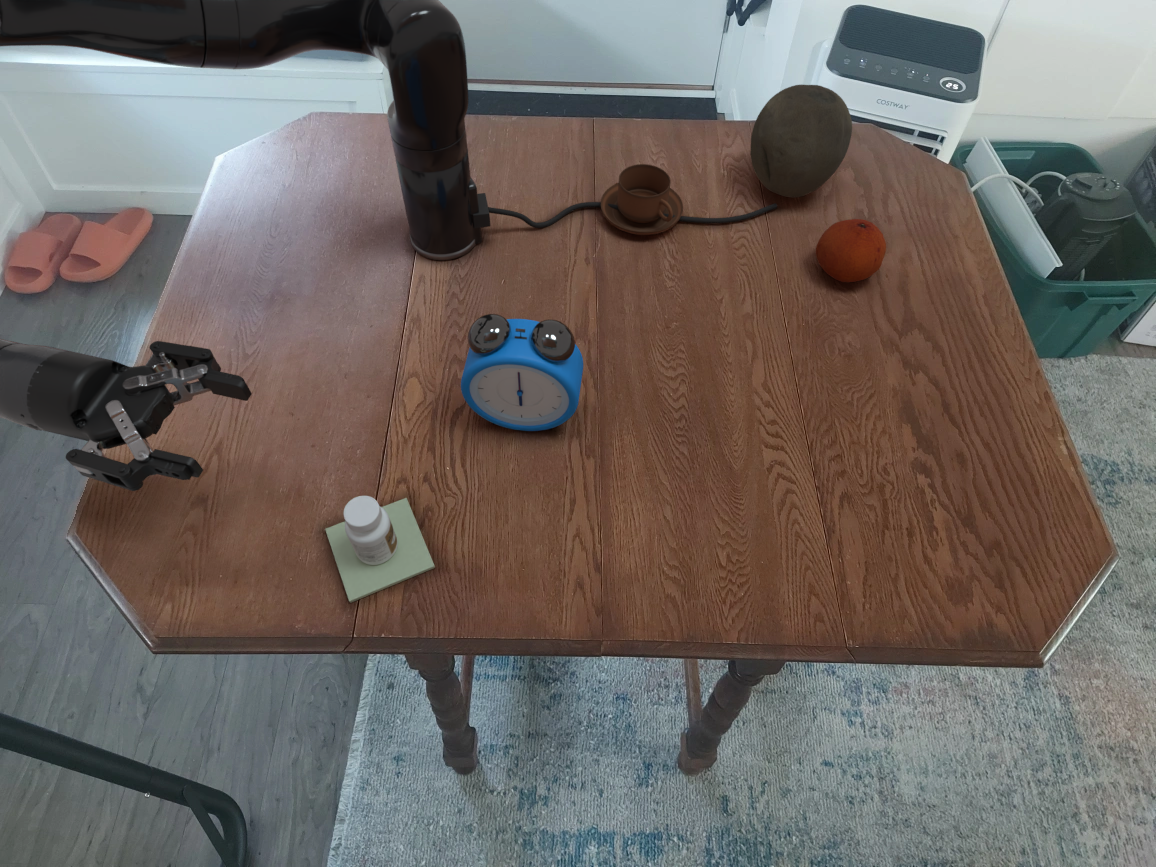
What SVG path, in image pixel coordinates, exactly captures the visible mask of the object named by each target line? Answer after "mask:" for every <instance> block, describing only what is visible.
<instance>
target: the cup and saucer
mask: <svg viewBox="0 0 1156 867" xmlns="http://www.w3.org/2000/svg"><path fill="white" fill-rule="evenodd" d="M618 175H619V176H618V182H617V183H614V184H613V185H611V186H609V187H608V188H607V189H606V190H605V191H604V193H603V194H602V196H601V199H600V202H601V208H600V209H601V213H602V215H603V216H604V218H605V219H606V221H607V222H608V223H609V224H611V225H612V226H614V227H615V228H617V229H619V230H620V231H623V232H625V233H628V234H633V235H637V236H649V235H656V234H660V233H663V232H665V231H668V230H670V229H671V228H673V227H674V226H675V225H676V224H678V222H680V221H679V219H680V217H681V216H683V212H684V204H683V200H682V199H681V197H680V195H679V194H678V193H677V192H676V191H675V190H674V189H673V188H671V182H672V181H671V177H670V175H669V174H668V173H667V171H665V169H663V168H661V167H659V166H657V165H652V164H646V163H638V164H633V165H629V166H628V167H626V168H624V169H623V170H622V171H621V172H620V173H619V174H618ZM608 204H615V205H617V206H618V209H619V210H620V211H619V210H616V209H614V208H611V207H610V206H608ZM664 213H665V214H669V216H668V217H666V216H664V215H663V214H664ZM673 215H675V217H673ZM659 217H661V218H659ZM672 217H673V218H672Z"/></svg>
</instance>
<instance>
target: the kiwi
mask: <svg viewBox="0 0 1156 867" xmlns="http://www.w3.org/2000/svg"><path fill="white" fill-rule="evenodd" d="M852 134H853V120H852V115H851V113H850V110H849V107H848V106H847V104H846V102H845V100H844V99H843V98H842V96H840V95H839V94H838V93H836V92H835V91H834V90H832V89H831V88H829V87H825V86H822V85H818V84H795V85H791V86H789V87H785V88H783V89H781V90H780V91H778V92H777V93H775V94H774V95H772V96H771V98H770V99H769V100H768V101H767V102H766V103H765V105H763V107H762V109H761V110H760V112H759V114H758V115H757V116H756V120H755V121H754V124H753V128H752V132H751V136H750V152H749V153H750V161H751V165H752V169H753V171H754V174H755V175H756V177H757V179H758V180H759V181H760V183H761V184H762V185H763V187H765V188H766V190H769V191H770V192H772V193H774V194H777V195H779V196H782V197H787V198H792V199H793V198H801V197H804V196H807V195H808V194H811V193H812V192H814V191H816V190H817V189H819V188H821V187H822V186H823V185H824V184H826V182H827V181H829V179H831V177H832V176H833V175H834V174H835V173H836V172H837V170H838V169H839V168H840V166H841V165H842V162H843V161H844V159H845V157H846V155H847V152H848V150H849V147H850V143H851V140H852V136H853V135H852Z"/></svg>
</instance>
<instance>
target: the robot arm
mask: <svg viewBox="0 0 1156 867" xmlns="http://www.w3.org/2000/svg"><path fill="white" fill-rule="evenodd" d="M29 46H30V47H34V46H35V47H36V46H37V47H39V46H40V47H41V46H42V47H43V46H45V47H46V46H51V47H68V48H69V47H70V48H78V49H85V50H91V51H94V52H95V51H96V52H100V53H106V54H110V55H113V56H114V55H115V56H118V57H123V58H128V59H133V60H139V61H143V62H148V63H155V64H162V65H170V66H176V67H182V68H183V67H185V68H192V69H193V68H194V69H215V70H217V69H218V70H255V69H259V68H263V67H267V66H271V65H273V64H277V63H279V62H282V61H285V60H287V59H290V58H293V57H295V56H298V55H301V54H303V53H309V52H312V51H337V52H348V53H355V54H360V55H366V56H370V57H373V58H376V59H378V61H380V63H381V64H382V65H383V66H384V67H385V68H386V69H387V72H388V76H389V81H390V87H391V93H392V99H393V100H392V101H391V103H390V104H389V105H388V109H387V111H386V112H387V113H386V114H387V116H386V117H387V125H388V129H389V130H388V131H389V134H390V138H391V144H392V149H393V154H394V159H395V164H396V169H397V174H398V179H399V185H400V190H401V194H402V200H403V205H404V210H405V215H406V220H407V225H408V231H409V238H410V244H411V246H412V248H413V250H414V251H415V252H416V253H417V254H419V255H420V256H422V257H424V258H427V259H430V260H434V261H449V260H455V259H458V258H460V257H463V256H464V255H466V254H468V253H469V252H470V251H472V249H473V248H474V247H475V246H476V245H478V244H482V242H483V236H482V228H489V227H491V218H490V214H495V215H502V216H508V217H513V218H516V219H520V220H521V221H523V222H524V223H525V224H527V225H528V226H530V227H532V228H534V229H543V228H546V227H549V226H551V225H553V224H555V223H556V222H558V221H560V220H561V219H562V218H564V217H565V216H567V215H568V214H570V213H572V212H575V211H577V210H580V209H587V208H596V209H597V208H598V209H599V208H600V209H601V201H587V202H578V203H575V204H572V205H570V206H568V207H566V208H565V209H563V210H562V211H560V212H559V213H558V214H556V215H555V216H553V217H552V218H549V219H548V220H545V221H542V222H541V221H540V222H539V221H538V222H535V221H533V220H532V219H531V218H530V217H528V216H526V215H525V214H523V213H522V212H519V211H518V212H517V211H514V210H509V209H505V208H504V209H503V208H496V207H491V206H489V204H488V200H487V194H486V193H485V192H479V193H478V186H477V184H476V183H475V181H474V180H473V178H472V176H471V167H470V159H469V148H468V140H467V129H466V122H465V120H466V119H465V118H466V116H467V112H468V109H469V83H468V82H469V81H468V64H467V62H468V61H467V51H466V43H465V38H464V33H463V31H462V27H461V24H460V22H459V20H458V19H457V18H456V16H455V14H454V13H452V11H450V9H448V7H447V6H446V5H444V4H443V2H441V1H440V0H0V47H29ZM608 206H610V207H611V208H614V209H616V210H619V209H618V206H617V205H615V204H608ZM776 209H778V204H777V203H772V204H769V205H766V206H764V207H761V208H759V209H756V210H754V211H752V212H748V213H745V214H741V215H735V216H727V217H698V216H687V215H681V217H680V219H679V221H678V222H682V223H683V222H684V223H692V224H693V223H694V224H695V223H696V224H711V225H713V224H728V223H729V224H730V223H735V222H736V223H737V222H742V221H745V220H749V219H752V218H755V217H757V216H760V215H762V214H765V213H768V212H771V211H773V210H776ZM619 211H620V210H619ZM663 215H664V216H666V217H668V216H669V214H665V213H664V214H663ZM673 217H675V215H673ZM673 217H672V218H673ZM659 218H661V217H659ZM149 350H150V351H151V353H152V354H151V356H150V357H149V359H148V360H147V362H146V363H145V364H144V365H143V364H142V365H137V366H128V365H126V364H123V363H121V362H118V361H116V360H113V359H109V358H104V357H100V356H96V355H95V356H94V355H89V354H85V353H80V352H76V351H71V350H67V349H63V348H58V347H53V346H49V345H40V344H39V345H38V344H28V343H21V342H17V341H12V340H9V339H3V338H0V419H3V420H7V421H9V422H12V423H14V424H17V425H20V426H23V427H26V428H29V429H31V430H35V431H43V432H48V433H52V434H56V435H61V436H65V437H69V438H72V439H78V440H82V441H86V442H85V444H84V445H83V447H82V448H81V449H78V448H73V449H70V450H69V451H68V452H67V453H66V454H65V459H66V461H67V462H68V463H69V464H70V465H71V466H72V467H73V468H74V469H75V470H76V471H77V472H78V473H79V474H80V475H81V476H83V477H85V478H90V479H92V480H95V481H99V482H102V483H105V484H108V485H111V486H114V487H118V488H121V489H124V490H128V491H131V492H136V491H139V490H141V489H142V488H143V486H144V481H145V480H146V479H147V478H148V477H150V476H156V475H160V476H163V477H168V478H172V479H176V480H179V481H188V480H189V481H190V480H191V478H192V477H193V478H195V479H196V478H197V479H198V478H200V477H201V475H202V473H203V471H204V469H203V467H202V466H201V464H200V463H199V462H198V460H197V459H195V458H193V457H191V456H187V455H184V454H179V453H174V452H170V451H165V450H161V449H157V448H154V449H153V448H152V445H151V444H150V442H149V441H148V438H149V437H151V436H152V435H157V434H158V433H159V431H160V430H161V429H162V425H163V424H164V421H165V420H166V419H167V418H168V417H169V416H170V415H171V414H172V413H173V412H174V410H175V408H176V407H175V406H178V405H181V404H185V403H187V402H190V401H192V400H193V398H194V397H195V396H199V395H201V394H205V393H209V392H211V393H212V394H213V395H217V396H222V397H227V398H230V399H236V400H239V401H244V402H247V401H249V400H250V398H251V396H252V395H253V393H252V391H251V389H250V388H249V385H248V384H247V382H246V381H245V379H244V377H242V376H240V375H238V374H233V373H229V372H224V371H222V367H221V366H220V364H219V363H218V361H217V358H215V356H214V353H213V351H212V350H211V349H210V348H205V347H199V346H192V345H187V344H180V343H175V342H166V341H161V340H155V341H153V342H151V344H149ZM195 380H197V381H195ZM192 381H193V382H192ZM166 385H173V386H174V387H175V389H176V390H175V391H172V392H170V390H169V389H168V386H166ZM124 445H126V446H127V447H128V449H129V451H130V453H131V454H132V456H133V459H132V460H130V461H129V462H128V463H124V462H121V461H118V460H115V459H112V458H109V457H107V455H106V454H105V453H103V450H110V449H113V448H116V447H121V446H124Z"/></svg>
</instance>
